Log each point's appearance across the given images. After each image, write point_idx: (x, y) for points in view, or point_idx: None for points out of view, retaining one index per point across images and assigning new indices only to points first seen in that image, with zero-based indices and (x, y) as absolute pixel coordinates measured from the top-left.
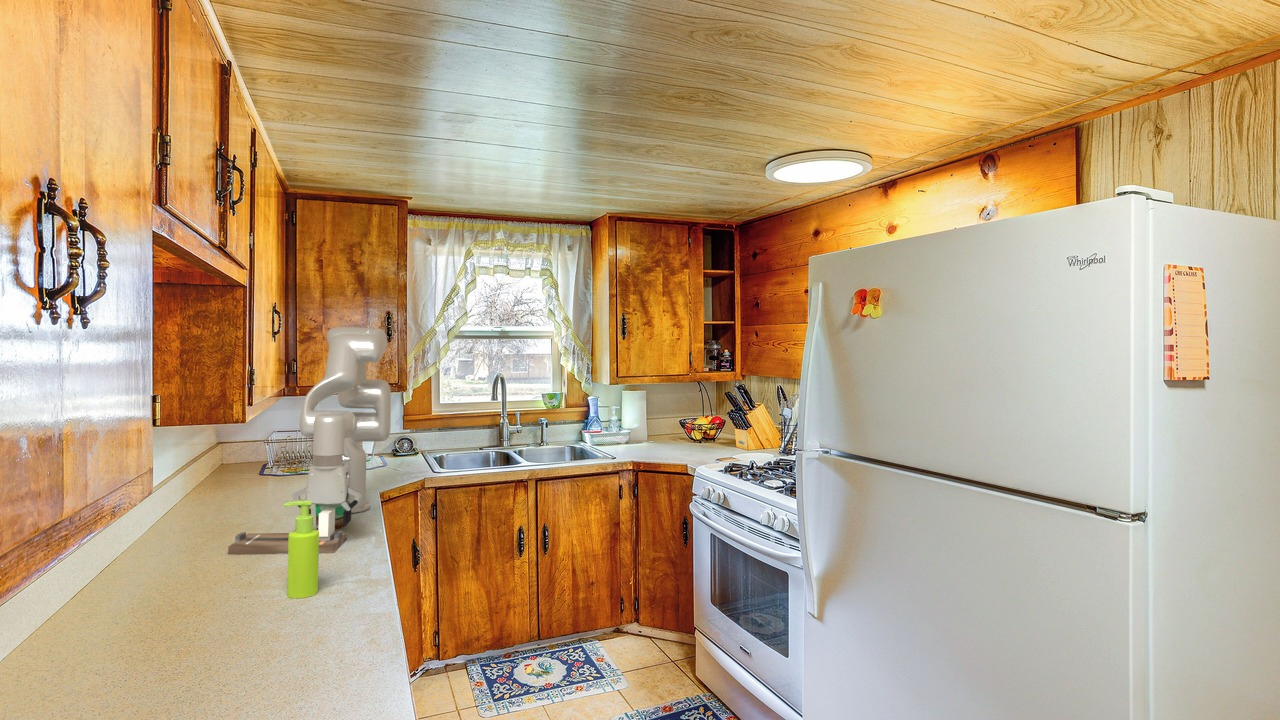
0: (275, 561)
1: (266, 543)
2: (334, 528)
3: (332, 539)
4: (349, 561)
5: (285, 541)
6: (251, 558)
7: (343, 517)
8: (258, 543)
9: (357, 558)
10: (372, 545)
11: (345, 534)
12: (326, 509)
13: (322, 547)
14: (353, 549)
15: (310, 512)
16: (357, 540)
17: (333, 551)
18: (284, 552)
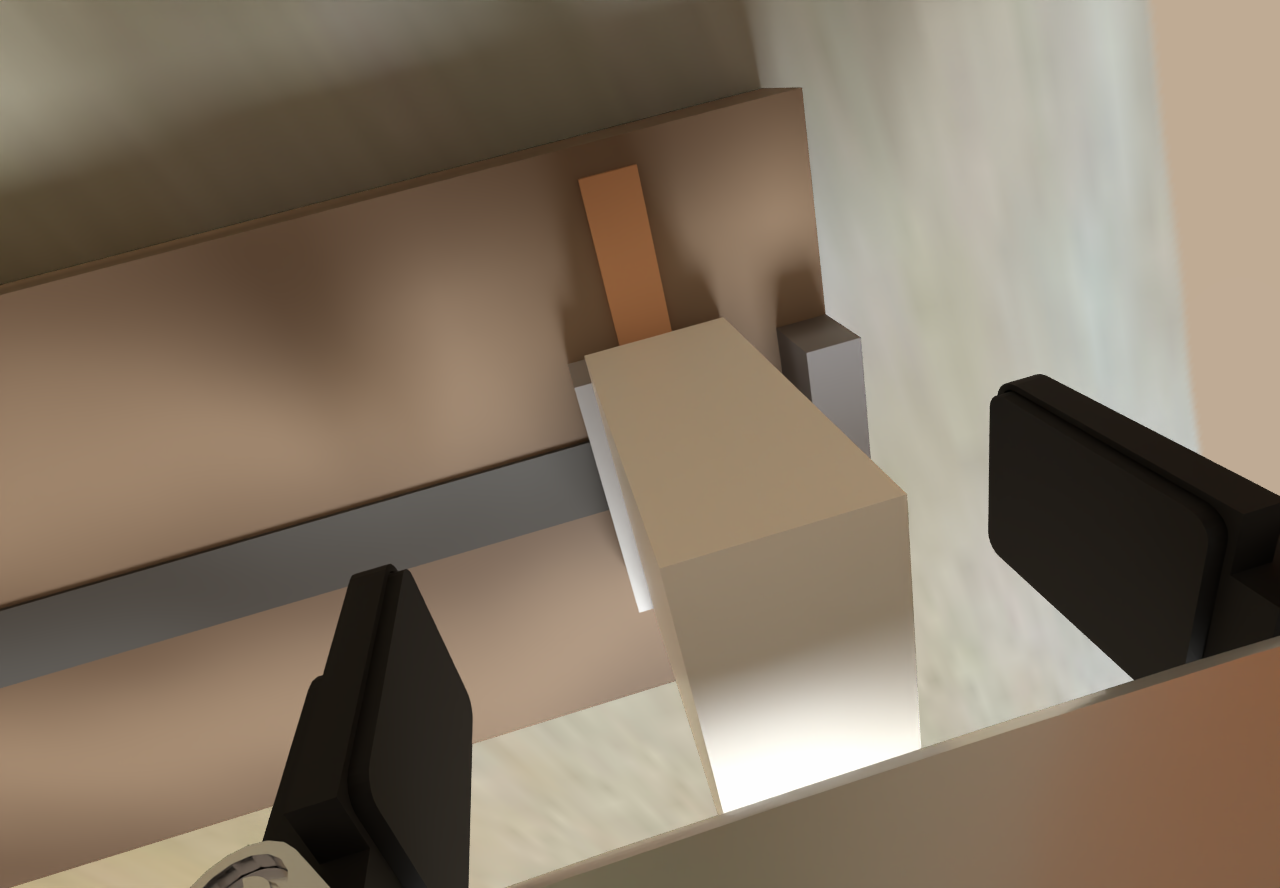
0: (469, 848)
1: (100, 772)
2: (734, 333)
3: None
4: (1012, 699)
5: (254, 664)
6: (205, 861)
7: (1085, 630)
8: (8, 800)
9: (1054, 634)
10: (1123, 272)
11: (800, 143)
12: (743, 659)
13: None
14: (966, 442)
15: (397, 761)
16: (916, 96)
17: None
18: None
